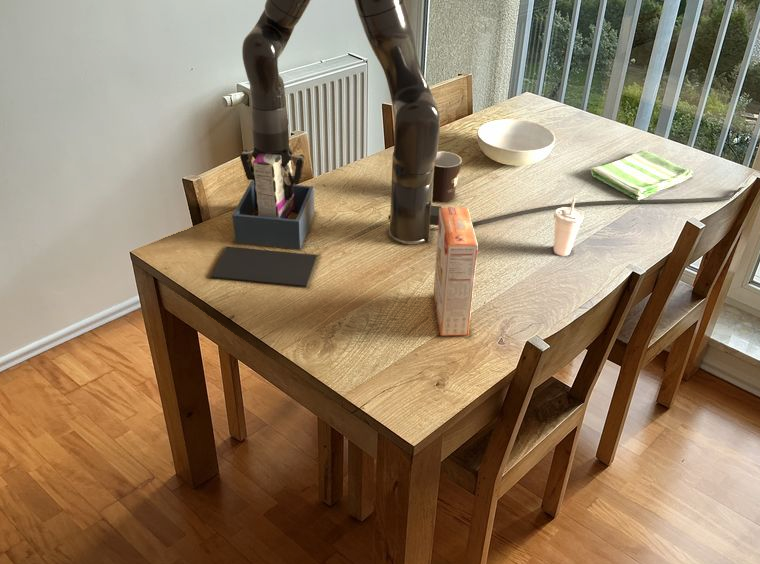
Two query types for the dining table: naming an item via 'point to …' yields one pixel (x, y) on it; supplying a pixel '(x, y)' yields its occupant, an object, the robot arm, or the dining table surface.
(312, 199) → the open storage bin
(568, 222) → the smoothie
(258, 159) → the candy bar box
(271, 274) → the rubber mat
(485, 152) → the serving bowl
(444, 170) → the coffee mug
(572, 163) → the dining table surface
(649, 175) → the dish towel
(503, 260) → the dining table surface
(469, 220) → the cracker box
